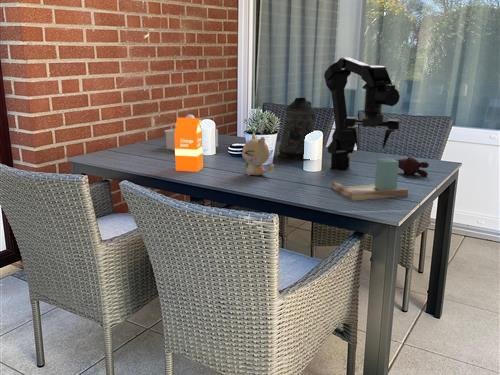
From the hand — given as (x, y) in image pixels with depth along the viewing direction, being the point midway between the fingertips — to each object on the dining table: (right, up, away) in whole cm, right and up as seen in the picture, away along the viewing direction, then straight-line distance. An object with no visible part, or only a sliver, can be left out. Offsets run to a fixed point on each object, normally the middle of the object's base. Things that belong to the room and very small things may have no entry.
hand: (370, 147), depth 177 cm
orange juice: (-66, -7, +19) cm, 70 cm away
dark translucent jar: (-21, 0, +44) cm, 49 cm away
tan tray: (-4, -16, -13) cm, 21 cm away
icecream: (+17, -9, +12) cm, 23 cm away
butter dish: (-70, +4, +59) cm, 92 cm away
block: (+2, -15, -11) cm, 19 cm away
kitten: (-41, -9, +11) cm, 43 cm away
